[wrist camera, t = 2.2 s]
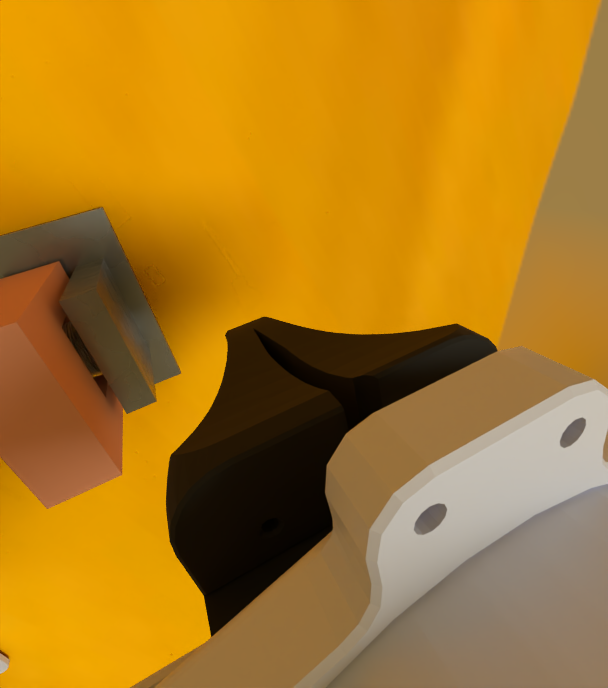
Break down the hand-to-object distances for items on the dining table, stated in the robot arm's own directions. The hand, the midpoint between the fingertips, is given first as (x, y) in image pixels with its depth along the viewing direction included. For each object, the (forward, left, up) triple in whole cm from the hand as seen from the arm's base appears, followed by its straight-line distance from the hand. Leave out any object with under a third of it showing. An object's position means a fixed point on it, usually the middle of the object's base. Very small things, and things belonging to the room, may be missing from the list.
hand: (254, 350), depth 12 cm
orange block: (0, +7, -9) cm, 12 cm away
